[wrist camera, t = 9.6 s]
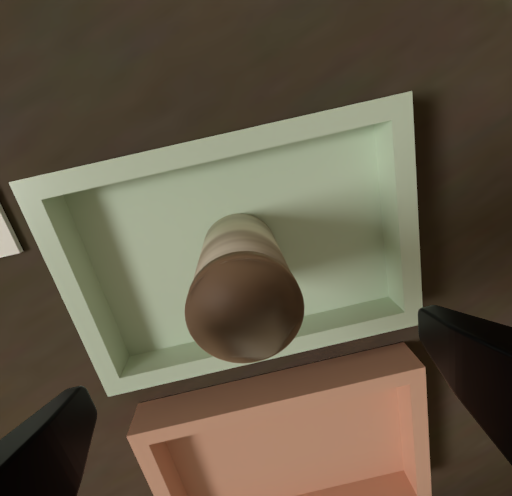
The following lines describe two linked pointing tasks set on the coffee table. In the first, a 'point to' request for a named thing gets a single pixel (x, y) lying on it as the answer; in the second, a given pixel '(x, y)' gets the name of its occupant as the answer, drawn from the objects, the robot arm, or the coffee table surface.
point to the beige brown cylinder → (243, 293)
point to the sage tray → (226, 203)
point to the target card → (7, 237)
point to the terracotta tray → (294, 432)
